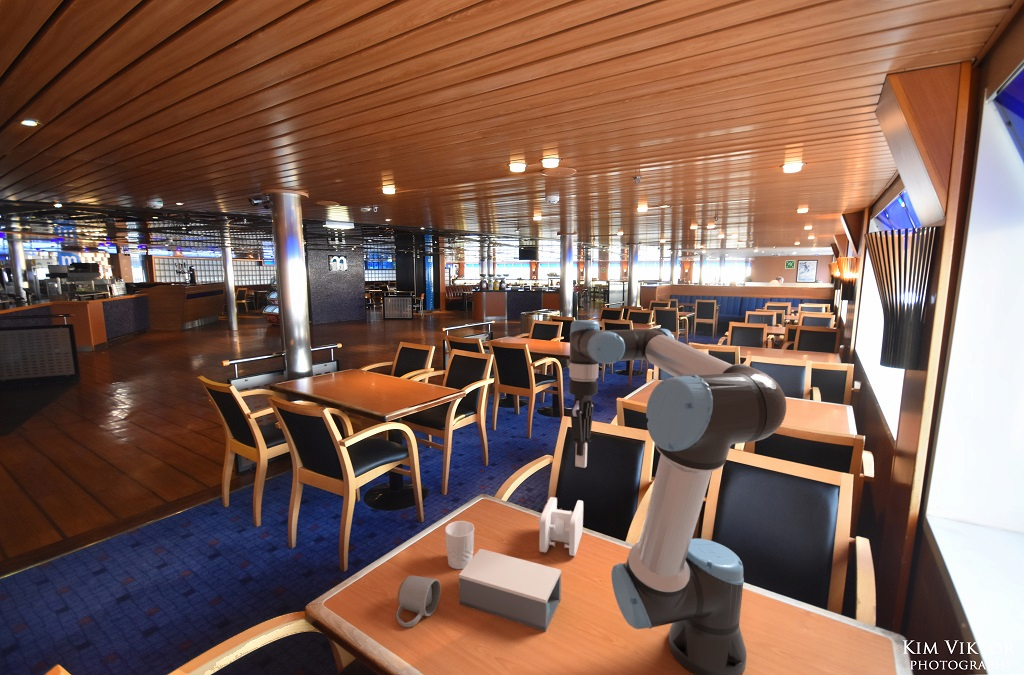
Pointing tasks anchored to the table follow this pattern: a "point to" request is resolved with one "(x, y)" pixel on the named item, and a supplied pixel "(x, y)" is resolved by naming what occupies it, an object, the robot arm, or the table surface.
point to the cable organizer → (560, 526)
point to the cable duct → (510, 604)
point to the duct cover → (511, 575)
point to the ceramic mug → (418, 597)
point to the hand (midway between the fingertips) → (580, 466)
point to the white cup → (459, 543)
